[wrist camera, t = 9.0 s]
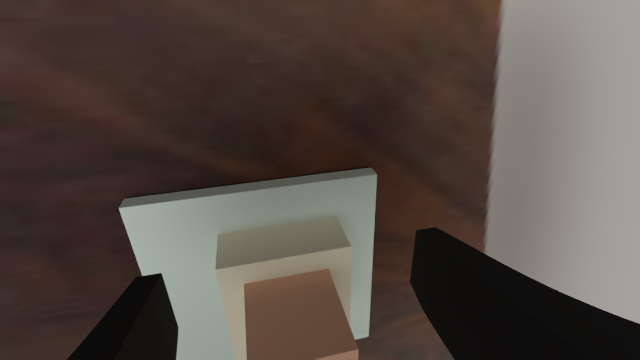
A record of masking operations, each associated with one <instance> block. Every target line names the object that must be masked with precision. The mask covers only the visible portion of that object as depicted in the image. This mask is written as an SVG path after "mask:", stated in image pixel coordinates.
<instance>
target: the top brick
mask: <svg viewBox="0 0 640 360" xmlns="http://www.w3.org/2000/svg"><path fill="white" fill-rule="evenodd" d="M244 303H245V328H246V354H247V360H358V347H357V344H356V341H355V339H354V336H353V333H352V331H351V328H350V325H349V323H348V320H347V317H346V315H345V312H344V309H343V306H342V304H341V301H340V298H339V296H338V293H337V290H336V288H335V285H334V282H333V279H332V277H331V274H330V271H329V269H323V270H318V271H312V272H307V273H301V274H296V275H290V276H285V277H280V278H274V279H269V280H263V281H258V282H252V283H247V284H244Z"/></svg>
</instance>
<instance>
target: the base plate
mask: <svg viewBox="0 0 640 360" xmlns="http://www.w3.org/2000/svg"><path fill="white" fill-rule="evenodd" d="M376 187H377V174H376V172H375V171H374V170H373V169H372V168H363V169H355V170H347V171H339V172H331V173H323V174H315V175H308V176H300V177H292V178H284V179H276V180H268V181H260V182H252V183H244V184H236V185H229V186H221V187H213V188H205V189H197V190H189V191H181V192H173V193H165V194H158V195H150V196H142V197H134V198H126V199H124V200H123V202H122V203H121V205H120V207H119V210H120V213H121V216H122V219H123V222H124V225H125V228H126V230H127V233H128V236H129V239H130V242H131V245H132V248H133V251H134V253H135V256H136V259H137V262H138V265H139V268H140V271H141V273H142V276H146V275H152V274H158V273H162V276H163V279H164V283H165V286H166V289H167V292H168V296H169V299H170V302H171V305H172V308H173V312H174V315H175V318H176V321H177V324H178V328H179V329H178V343H177V355H176V360H247V354H246V328H245V303H244V284H247V283H252V282H258V281H263V280H269V279H274V278H280V277H285V276H290V275H296V274H301V273H307V272H312V271H318V270H323V269H329V271H330V274H331V277H332V279H333V282H334V285H335V288H336V290H337V293H338V296H339V298H340V301H341V304H342V306H343V309H344V312H345V315H346V317H347V320H348V323H349V325H350V328H351V331H352V333H353V336H354V339H355V340H356V339H360V338H365V337H369V320H370V301H371V282H372V263H373V244H374V225H375V206H376Z"/></svg>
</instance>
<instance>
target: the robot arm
mask: <svg viewBox="0 0 640 360" xmlns="http://www.w3.org/2000/svg"><path fill="white" fill-rule="evenodd" d="M410 283H411V285H412V288H413V290H414V292H415V294H416V296H417V298H418V301H419V303H420V305H421V307H422V309H423V311H424V313H425V314H426V316H427V317H428V319H429V321H430V322H431V324H432V325H433V327H434V329H435V330H436V332H437V333H438V335H439V336H440V338H441V339H442V341H443V343H444V344H445V346H446V347H447V349H448V350H449V352H450V353H451V355H452V356H453V358H454V360H640V324H638V323H635V322H632V321H630V320H627V319H624V318H621V317H619V316H616V315H614V314H611V313H609V312H606V311H603V310H601V309H598V308H596V307H594V306H591V305H589V304H587V303H584V302H582V301H580V300H577V299H574V298H572V297H570V296H568V295H565V294H563V293H561V292H559V291H557V290H554V289H552V288H550V287H548V286H546V285H544V284H542V283H540V282H538V281H535V280H534V279H531V278H529V277H527V276H525V275H523V274H521V273H520V272H517V271H516V270H514V269H512V268H510V267H508V266H506V265H504V264H502V263H500V262H499V261H497V260H495V259H493V258H491V257H489V256H487V255H486V254H484V253H482V252H480V251H478V250H477V249H475V248H473V247H471V246H469V245H468V244H466V243H464V242H462V241H460V240H459V239H457V238H455V237H453V236H451V235H449V234H447V233H445V232H444V231H442V230H439V229H437V228H435V227H434V228H428V229H422V230H416V238H415V246H414V254H413V262H412V270H411V278H410ZM178 329H179V328H178V324H177V321H176V318H175V315H174V312H173V308H172V305H171V302H170V299H169V296H168V292H167V289H166V286H165V283H164V279H163V276H162V273H158V274H152V275H146V276H140V277H136V278H135V279H134V280H133V282H132V283H131V284H130V285H129V286H128V288H127V289H126V290H125V291H124V292H123V294H122V295H121V296H120V297H119V298H118V300H117V301H116V302H115V303H114V305H113V306H112V307H111V308H110V309H109V311H108V312H107V313H106V314H105V316H104V317H103V318H102V319H101V320H100V322H99V323H98V324H97V325H96V326H95V328H94V329H93V330H92V331H91V332H90V333H89V335H88V336H87V337H86V338H85V339H84V340H83V342H82V343H81V344H80V345H79V346H78V347H77V349H76V350H75V351H74V352H73V353H72V354H71V356H70V357H69V358H68V359H67V360H176V355H177V343H178Z"/></svg>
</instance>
